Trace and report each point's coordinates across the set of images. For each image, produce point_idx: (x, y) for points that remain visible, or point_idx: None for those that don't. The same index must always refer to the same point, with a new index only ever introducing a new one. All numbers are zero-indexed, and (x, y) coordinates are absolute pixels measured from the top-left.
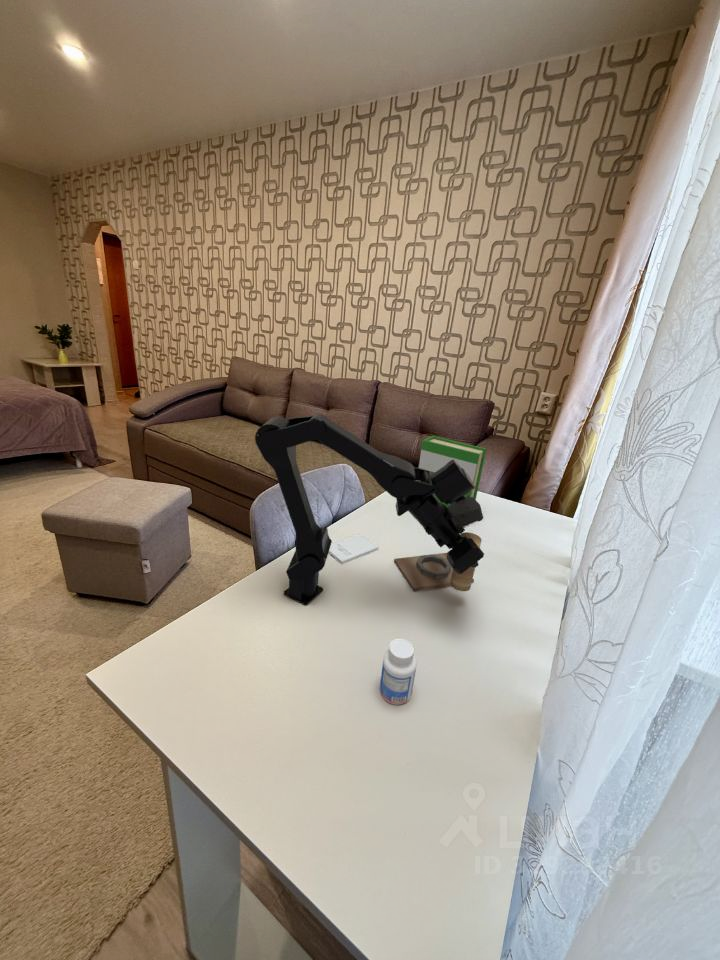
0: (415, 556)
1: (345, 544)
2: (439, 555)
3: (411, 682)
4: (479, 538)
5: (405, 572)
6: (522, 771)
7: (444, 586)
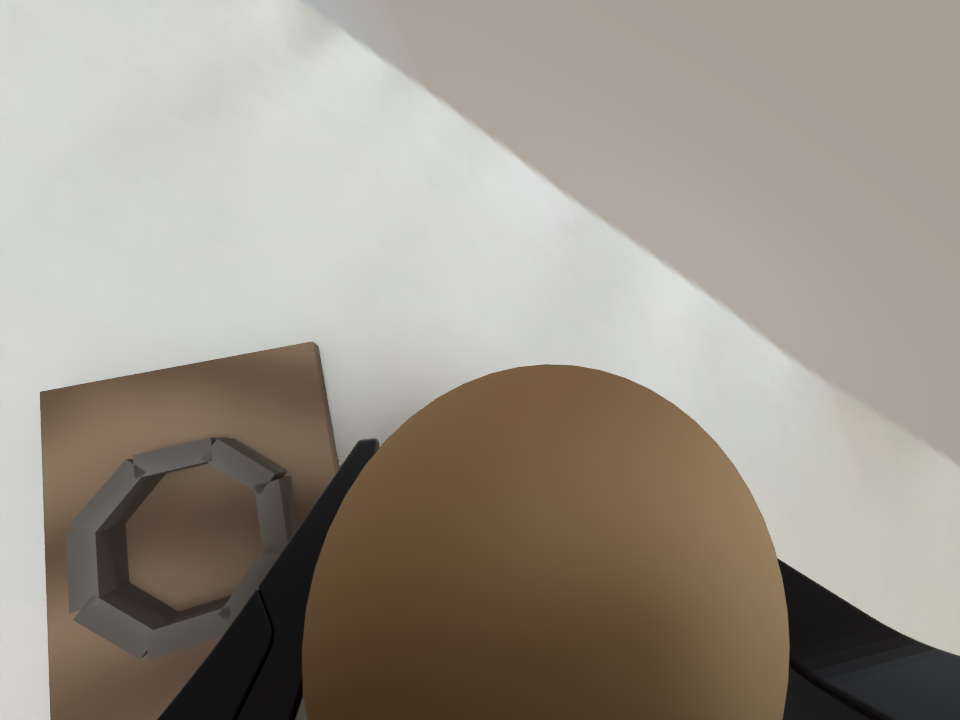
0: (50, 627)
1: None
2: (65, 462)
3: None
4: (574, 399)
5: None
6: (951, 467)
7: None
